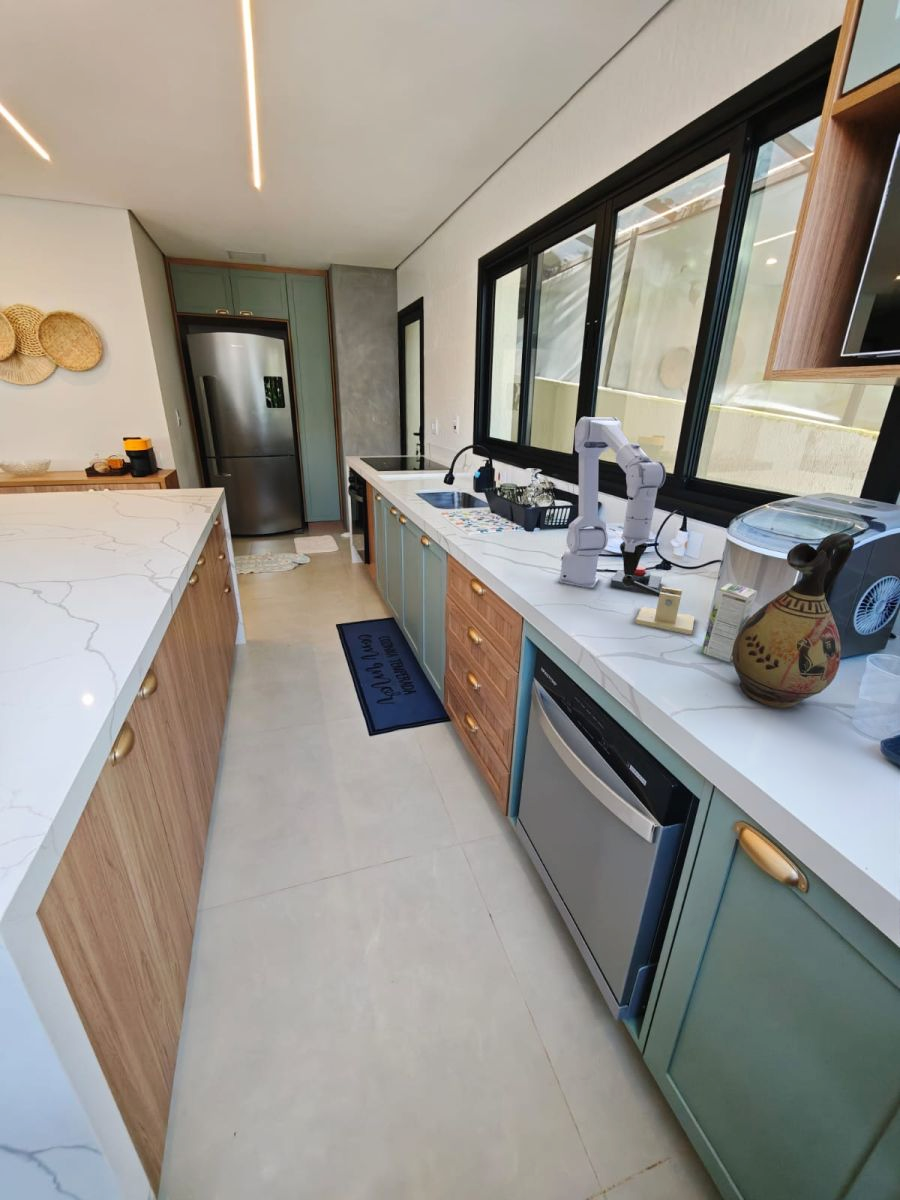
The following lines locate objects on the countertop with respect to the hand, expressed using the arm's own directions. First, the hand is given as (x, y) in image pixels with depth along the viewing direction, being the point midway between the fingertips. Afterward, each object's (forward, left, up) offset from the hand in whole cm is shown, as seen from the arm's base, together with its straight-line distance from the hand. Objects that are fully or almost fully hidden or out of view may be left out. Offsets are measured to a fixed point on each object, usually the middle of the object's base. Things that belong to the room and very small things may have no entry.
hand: (629, 573), depth 119 cm
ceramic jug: (+31, -23, -11) cm, 40 cm away
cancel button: (0, +22, -7) cm, 23 cm away
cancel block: (0, +22, -10) cm, 24 cm away
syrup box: (+22, -11, -11) cm, 27 cm away
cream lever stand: (+10, 0, -10) cm, 14 cm away
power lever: (+4, 0, -4) cm, 6 cm away
